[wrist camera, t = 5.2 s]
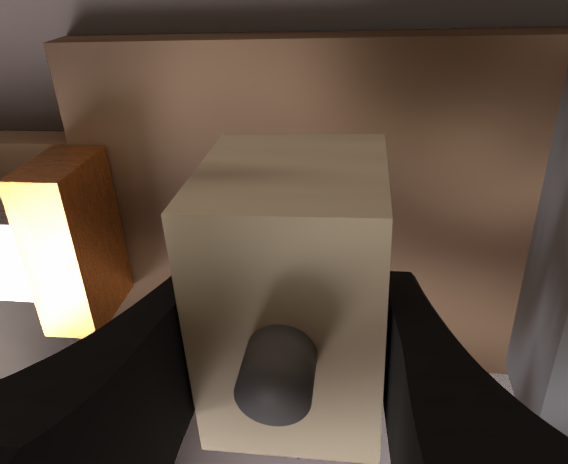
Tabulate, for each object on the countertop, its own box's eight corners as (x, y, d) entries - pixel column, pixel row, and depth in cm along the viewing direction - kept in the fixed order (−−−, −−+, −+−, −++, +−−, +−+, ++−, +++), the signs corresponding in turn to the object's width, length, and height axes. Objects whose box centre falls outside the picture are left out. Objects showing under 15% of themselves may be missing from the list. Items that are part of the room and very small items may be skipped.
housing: (376, 333, 16) (380, 516, 11) (242, 326, 16) (186, 497, 11) (384, 134, 13) (396, 256, 8) (221, 134, 13) (134, 248, 8)
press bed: (531, 351, 23) (576, 461, 18) (-89, 313, 27) (-189, 394, 22) (609, 25, 16) (709, 60, 12) (-214, 40, 20) (-390, 71, 16)
